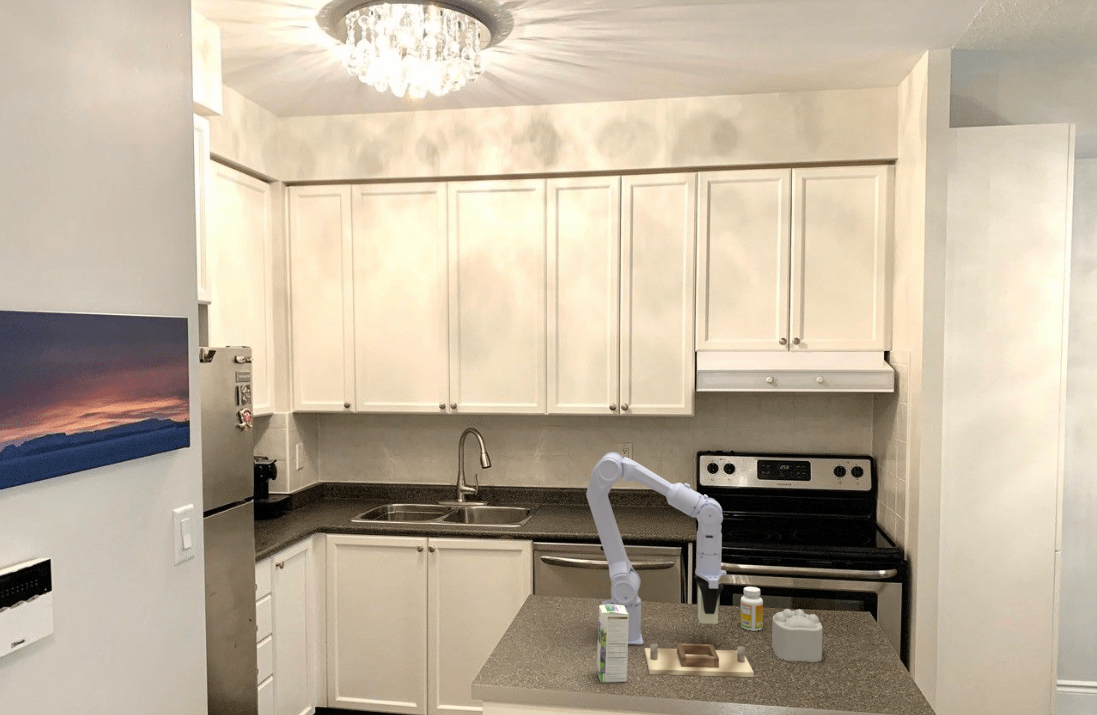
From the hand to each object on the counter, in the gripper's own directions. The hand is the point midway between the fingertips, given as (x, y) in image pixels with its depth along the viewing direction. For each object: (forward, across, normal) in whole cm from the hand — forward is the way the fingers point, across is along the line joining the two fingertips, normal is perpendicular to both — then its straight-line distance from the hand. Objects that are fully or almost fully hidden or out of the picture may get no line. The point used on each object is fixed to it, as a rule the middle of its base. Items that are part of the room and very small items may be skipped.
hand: (707, 610), depth 183 cm
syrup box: (+9, -19, +23) cm, 31 cm away
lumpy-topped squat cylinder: (+9, -1, -20) cm, 22 cm away
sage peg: (+2, 0, 0) cm, 2 cm away
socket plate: (+8, -11, +4) cm, 14 cm away
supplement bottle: (+9, +13, -13) cm, 20 cm away
